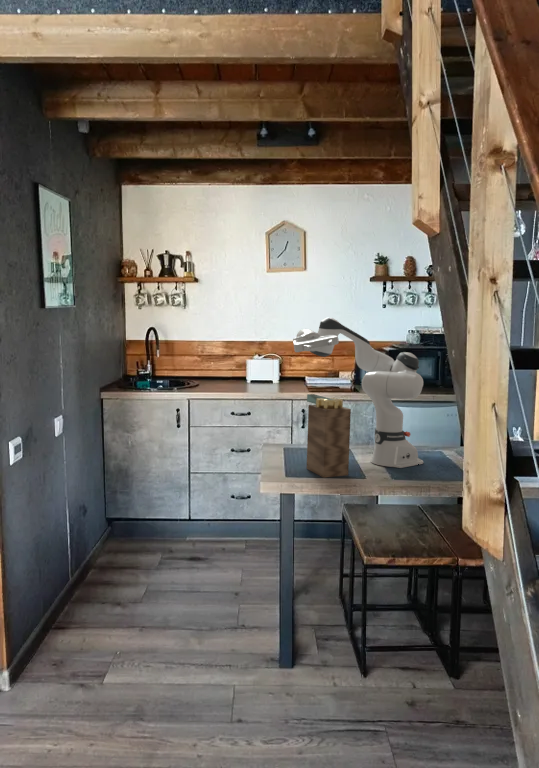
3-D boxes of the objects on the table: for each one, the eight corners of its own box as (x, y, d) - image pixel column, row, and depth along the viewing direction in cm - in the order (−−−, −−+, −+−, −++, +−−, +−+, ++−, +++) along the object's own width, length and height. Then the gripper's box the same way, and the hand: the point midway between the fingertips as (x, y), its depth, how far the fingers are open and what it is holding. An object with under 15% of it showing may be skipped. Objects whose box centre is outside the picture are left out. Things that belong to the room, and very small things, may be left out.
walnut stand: (330, 466, 233) (332, 403, 230) (348, 475, 220) (350, 409, 218) (306, 468, 229) (308, 404, 226) (323, 477, 216) (325, 410, 213)
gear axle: (321, 400, 238) (321, 393, 238) (347, 408, 219) (347, 400, 219) (299, 401, 234) (299, 394, 234) (324, 409, 215) (324, 401, 215)
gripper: (334, 343, 261) (344, 348, 248) (291, 352, 258) (299, 357, 245) (332, 330, 260) (342, 334, 247) (289, 338, 257) (297, 343, 244)
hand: (320, 346), depth 246 cm, fingers open, 8 cm apart
